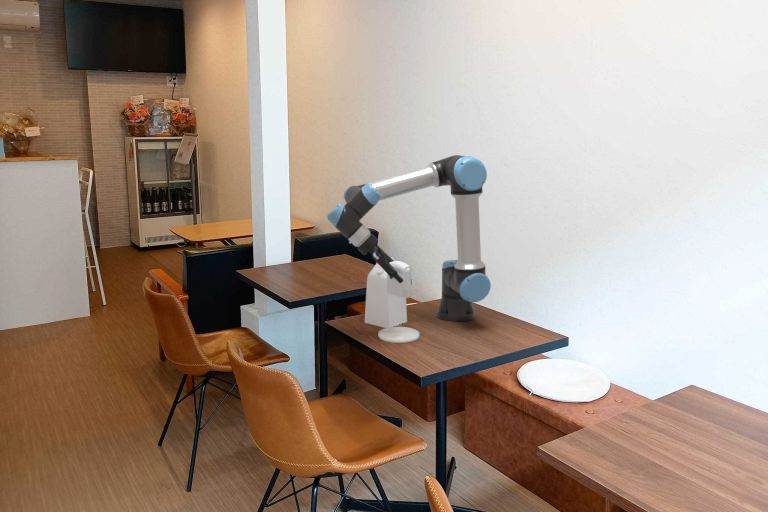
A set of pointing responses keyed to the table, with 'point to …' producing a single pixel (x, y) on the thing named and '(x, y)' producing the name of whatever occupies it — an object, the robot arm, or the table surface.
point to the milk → (383, 301)
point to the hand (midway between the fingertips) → (408, 284)
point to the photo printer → (393, 285)
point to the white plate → (398, 334)
